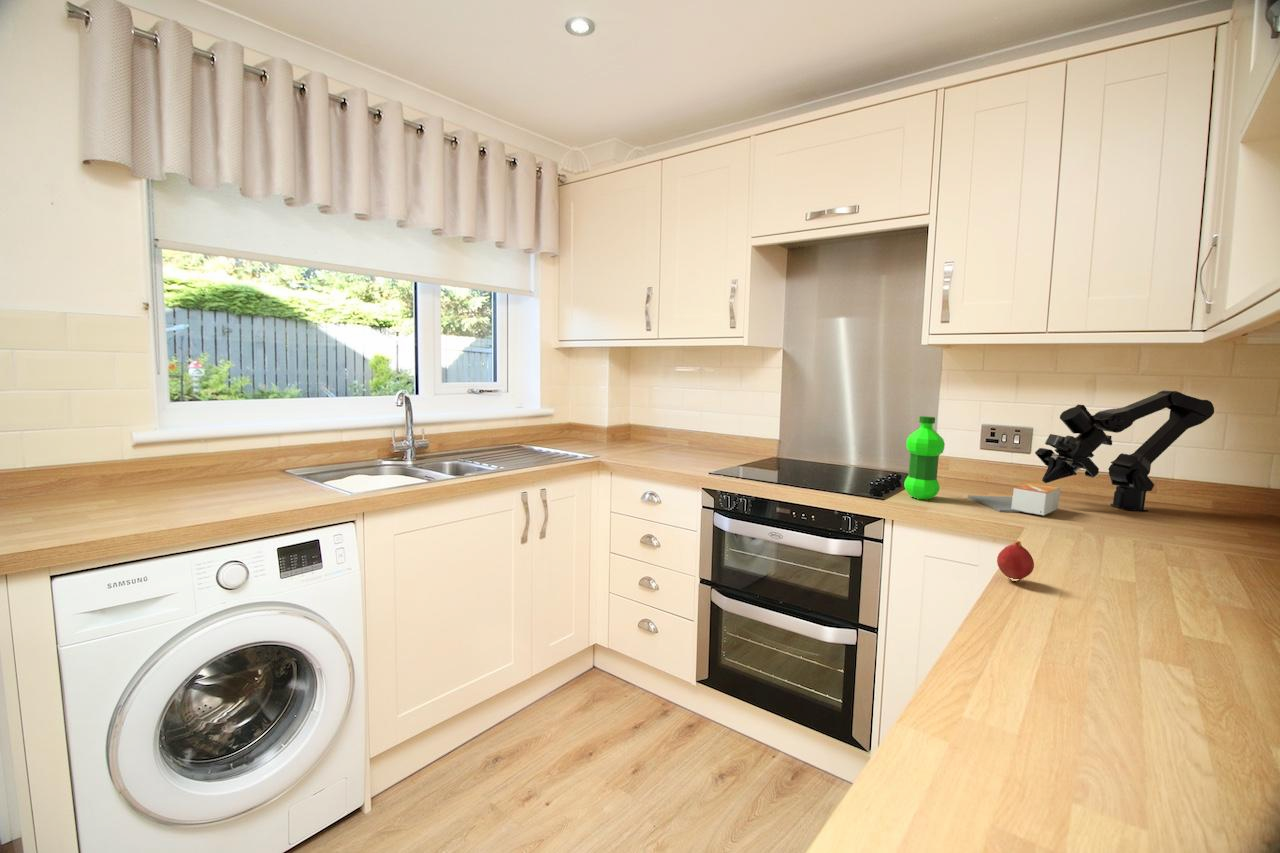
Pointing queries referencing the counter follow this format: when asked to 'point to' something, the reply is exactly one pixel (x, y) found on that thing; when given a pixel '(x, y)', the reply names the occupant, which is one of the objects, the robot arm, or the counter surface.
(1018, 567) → the onion
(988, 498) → the mat
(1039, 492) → the small box
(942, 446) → the plastic bottle
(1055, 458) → the robot arm
